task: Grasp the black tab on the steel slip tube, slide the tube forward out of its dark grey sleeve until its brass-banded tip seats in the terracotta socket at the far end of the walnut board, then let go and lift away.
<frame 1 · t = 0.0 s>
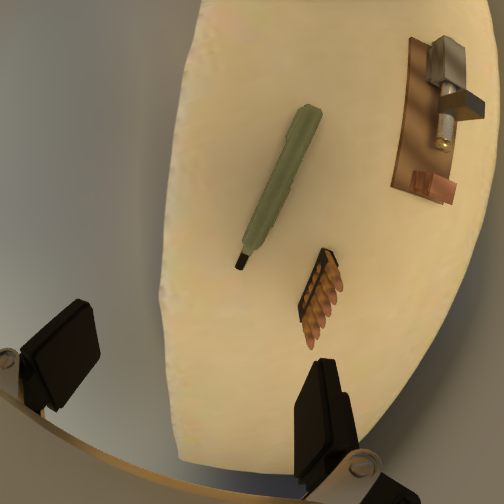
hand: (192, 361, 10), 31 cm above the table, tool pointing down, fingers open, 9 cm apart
slip tube: (458, 87, 22), point 8 cm above the table, slide at 0.0 cm
ammunition clip: (314, 279, 42), on the table
handheld radio: (273, 192, 39), on the table
tube stand: (431, 107, 31), on the table
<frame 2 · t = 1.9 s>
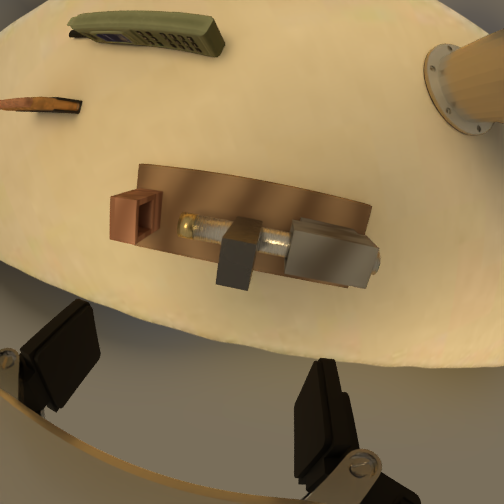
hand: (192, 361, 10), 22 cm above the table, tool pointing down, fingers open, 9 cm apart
slip tube: (281, 254, 23), point 8 cm above the table, slide at 0.0 cm
ammunition clip: (58, 106, 27), on the table
handheld radio: (137, 36, 24), on the table
tube stand: (261, 225, 30), on the table
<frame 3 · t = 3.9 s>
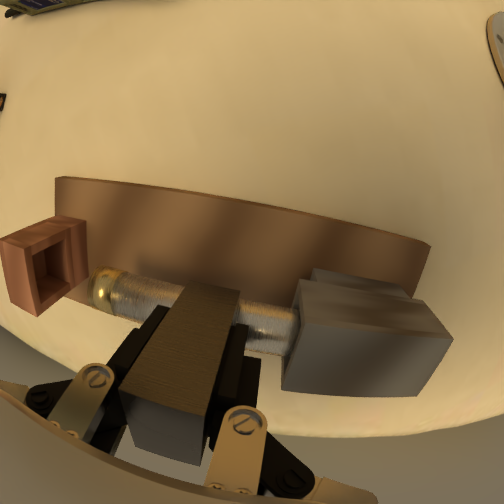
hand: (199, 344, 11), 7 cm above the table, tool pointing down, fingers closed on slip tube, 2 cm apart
slip tube: (274, 370, 10), point 8 cm above the table, slide at 0.0 cm, touching gripper
tube stand: (243, 278, 18), on the table
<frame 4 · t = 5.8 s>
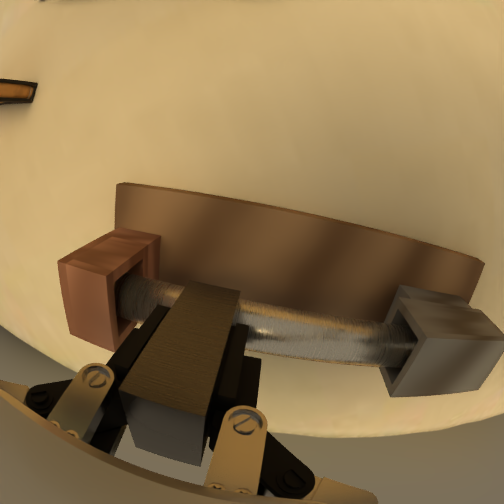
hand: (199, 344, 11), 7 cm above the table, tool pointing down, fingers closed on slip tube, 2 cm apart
slip tube: (275, 370, 10), point 8 cm above the table, slide at 6.1 cm, touching gripper
ammunition clip: (10, 95, 14), on the table
tube stand: (333, 295, 17), on the table
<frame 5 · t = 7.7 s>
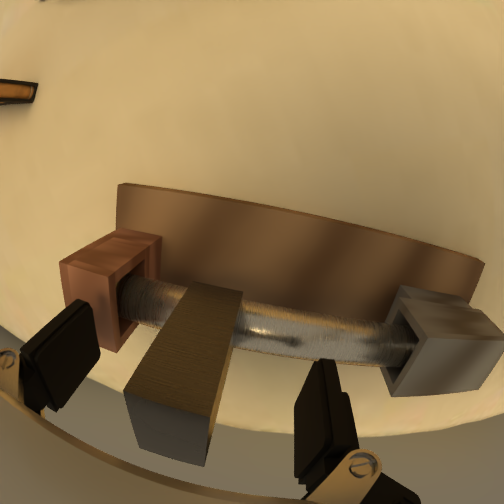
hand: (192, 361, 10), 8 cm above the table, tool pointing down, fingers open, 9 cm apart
slip tube: (277, 371, 10), point 8 cm above the table, slide at 6.0 cm
ammunition clip: (10, 95, 14), on the table
tube stand: (334, 295, 17), on the table
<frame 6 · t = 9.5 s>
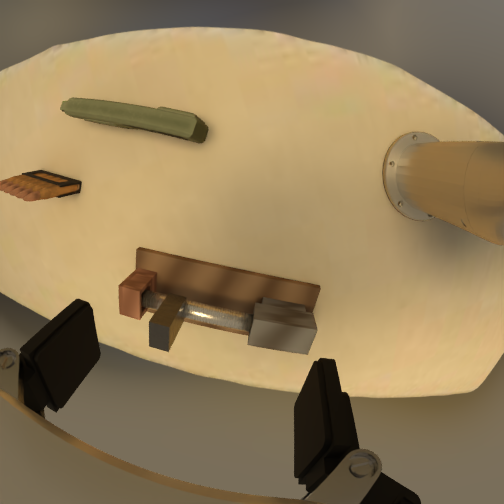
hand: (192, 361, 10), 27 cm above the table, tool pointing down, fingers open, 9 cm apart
slip tube: (195, 324, 32), point 8 cm above the table, slide at 6.0 cm
ammunition clip: (59, 180, 35), on the table
handheld radio: (127, 116, 32), on the table
tube stand: (233, 300, 39), on the table
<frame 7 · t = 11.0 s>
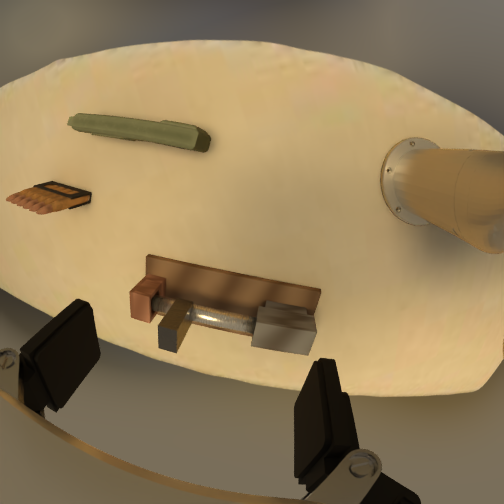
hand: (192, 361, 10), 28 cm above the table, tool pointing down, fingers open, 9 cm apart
slip tube: (201, 327, 34), point 8 cm above the table, slide at 6.0 cm
ammunition clip: (70, 191, 38), on the table
handheld radio: (133, 128, 34), on the table
tube stand: (238, 303, 41), on the table
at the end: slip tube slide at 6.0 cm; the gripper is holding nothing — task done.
